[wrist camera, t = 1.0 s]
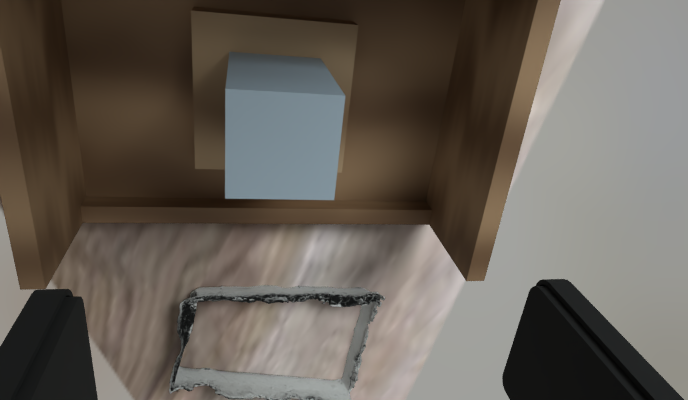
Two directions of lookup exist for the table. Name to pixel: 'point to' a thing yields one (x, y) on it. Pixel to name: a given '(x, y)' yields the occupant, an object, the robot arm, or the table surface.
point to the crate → (209, 114)
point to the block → (281, 128)
